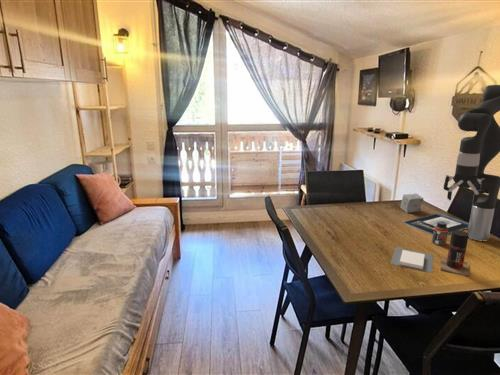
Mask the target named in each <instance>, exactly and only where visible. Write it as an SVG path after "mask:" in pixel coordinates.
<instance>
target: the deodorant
mask: <svg viewBox="0 0 500 375" xmlns="http://www.w3.org/2000/svg"><path fill="white" fill-rule="evenodd" d="M450 235H451V236H450V241H449V246H448V252H447V257H446V258H447V263H446V264H447V266H449V267H450V268H453V269H462V268H463V263H464V262H465V256H466V251H467V247H468V240H469V238H468V236H469V234H468V233H467V232H466V231H464V230H461V231H460V230H453V231H452V233H451V234H450Z"/></svg>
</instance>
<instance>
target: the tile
mask: <svg viewBox="0 0 500 375" xmlns="http://www.w3.org/2000/svg"><path fill="white" fill-rule="evenodd" d="M424 256H425V254H421V253H416V252H411V251H406V250H403V251H402V255H401V258H400V263H399V264H400V265H405V266H409V267H414V268H418V269H423V264H424Z"/></svg>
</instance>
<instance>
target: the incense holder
mask: <svg viewBox="0 0 500 375" xmlns="http://www.w3.org/2000/svg"><path fill="white" fill-rule="evenodd" d="M422 202H424V197H422V196H421V195H419V194H417V193H410V194H407V193H406V194H403V195H402V199H401V203H400V209H402V210H403V211H404V212H405V213H406V214H409V213H419V212H421V210H422V208H421V207H422Z"/></svg>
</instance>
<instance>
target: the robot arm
mask: <svg viewBox="0 0 500 375" xmlns="http://www.w3.org/2000/svg"><path fill="white" fill-rule="evenodd" d="M482 93H483V94H482V101H481V103H479V104H478V105H477V106H476V107H475V108H472V109H470V110H467V111H465V112H463V114H461V115H460V117H459V118H458V120H457V126H458V128H459V129H460V130H461V131H463V132H476V134H475V135H472V136H466V137H463V138H461V140H460V143H459V144H460V146H459V151H458V155H457V158H456V159H457V160H456V164H455V165H456V166H455V171H454V175H453V176H452V175H445V179H444V183H443V191H446V192H447V196H446V197H447V199H448V201H451V200H452V196H453V191H454V190H455V189H456V188H461V189H462V188H465V189H469V188H471V190H472V191H473V192H474V193H473V198H472V205H471V212H470V216H469V221H468V223H469V226H468V229H467V232H466V233H468V234H469V236H468V237H469V238H468V239H470V238H471V239H470V240H472V239H474V240H473V241H475V240H482V241H483V240H488V241H489V238H490V232H491V228H492V224H493V223H492V222H493V219H494V215H495V214H494V213H495V208H496V203H497V200H498V196H499V192H500V176H499V175H494V174H489V173H485V169H486V167H487V166H488V164H489V163H491V161H492V160H493V159H494V158H496V156H498V155H499V153H500V125H499V124H498V122H497V120H496V119H495V116H494V115H496V114H497V113H499V112H500V84H489V85H487V86H485V87H484V90H483V92H482ZM452 180H453V182H454V183H452V185H450V186H448V185H449V182H451V181H452ZM480 194H481V195H483V194H487V196H484V197H479V195H480ZM482 241H481V242H482Z"/></svg>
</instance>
